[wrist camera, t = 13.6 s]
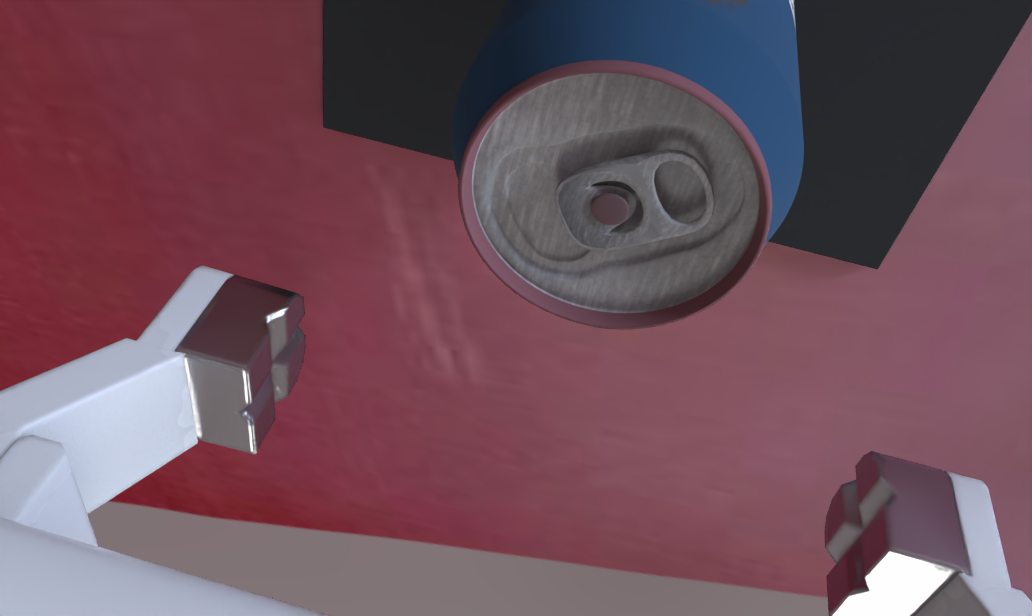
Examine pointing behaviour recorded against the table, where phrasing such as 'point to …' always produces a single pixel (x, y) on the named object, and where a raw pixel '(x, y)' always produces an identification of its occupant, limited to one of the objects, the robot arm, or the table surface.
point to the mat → (823, 90)
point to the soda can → (629, 152)
